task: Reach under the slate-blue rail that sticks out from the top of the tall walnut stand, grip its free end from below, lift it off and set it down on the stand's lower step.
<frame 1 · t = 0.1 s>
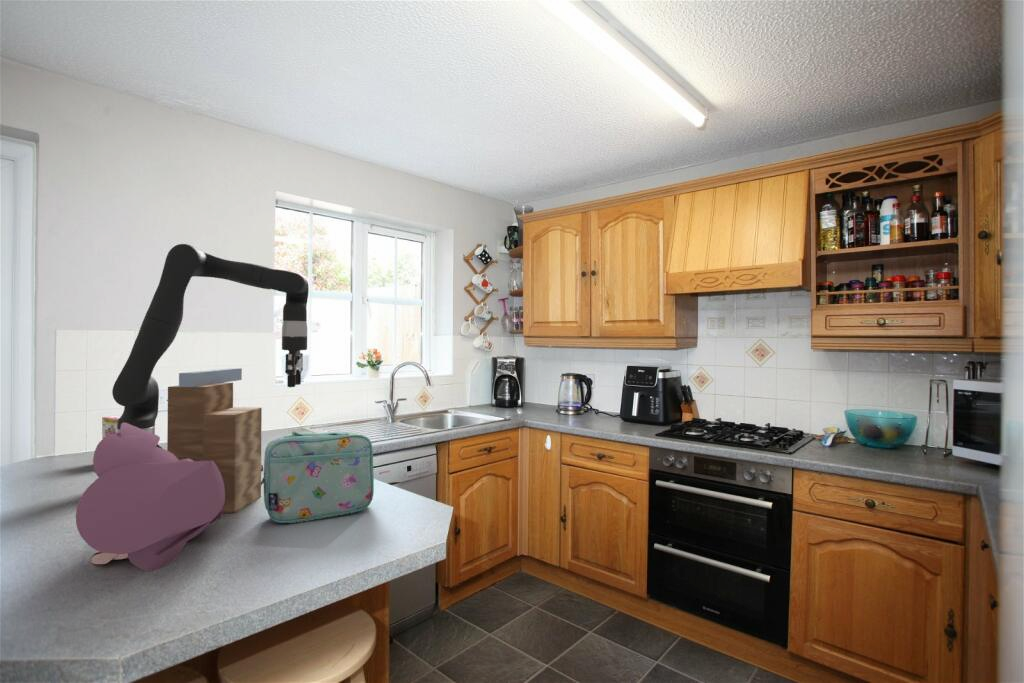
hand: (294, 385, 163), 29 cm above the counter, tool pointing down, fingers open, 8 cm apart
lunch box: (317, 515, 128), on the counter
candy bar box: (118, 464, 179), on the counter
burger: (243, 473, 169), on the counter
stand: (201, 504, 135), on the counter
mauve lumpy blob: (152, 550, 106), on the counter
rail: (212, 383, 140), point 32 cm above the counter, touching stand
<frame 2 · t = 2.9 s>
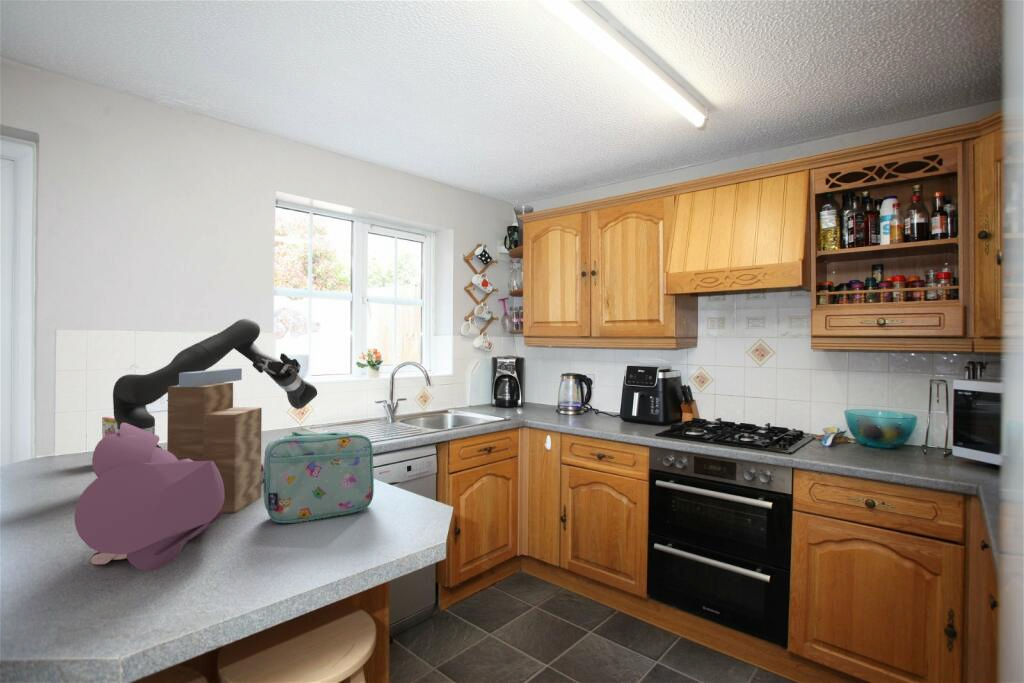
hand: (268, 355, 167), 39 cm above the counter, tool pointing upward, fingers open, 8 cm apart
nothing on the counter moved.
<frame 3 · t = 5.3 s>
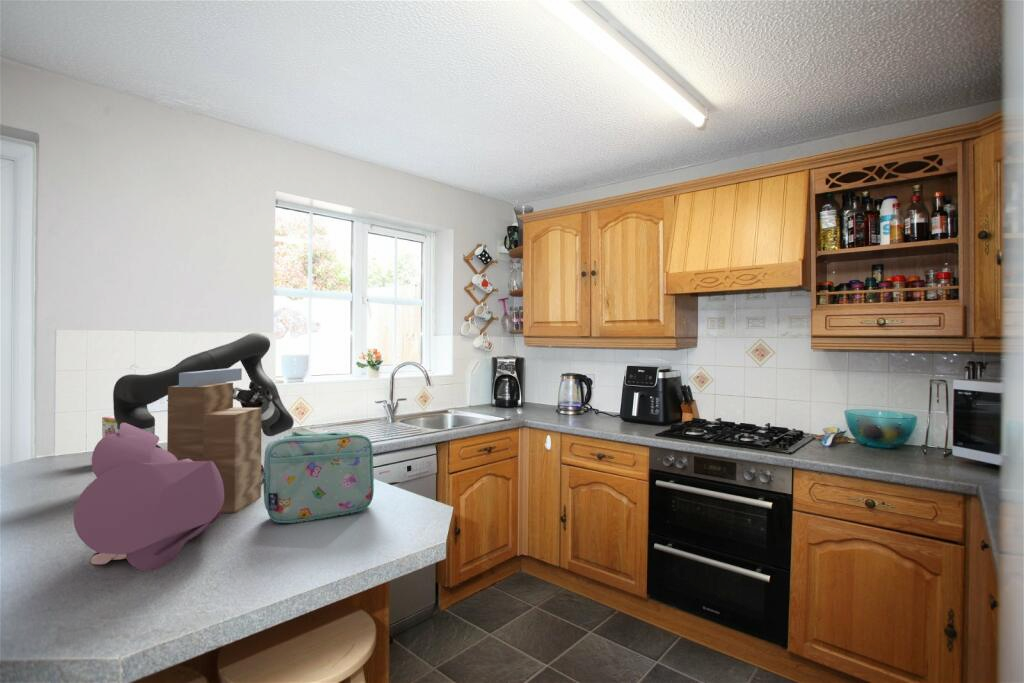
hand: (236, 384, 153), 31 cm above the counter, tool pointing upward, fingers open, 8 cm apart
nothing on the counter moved.
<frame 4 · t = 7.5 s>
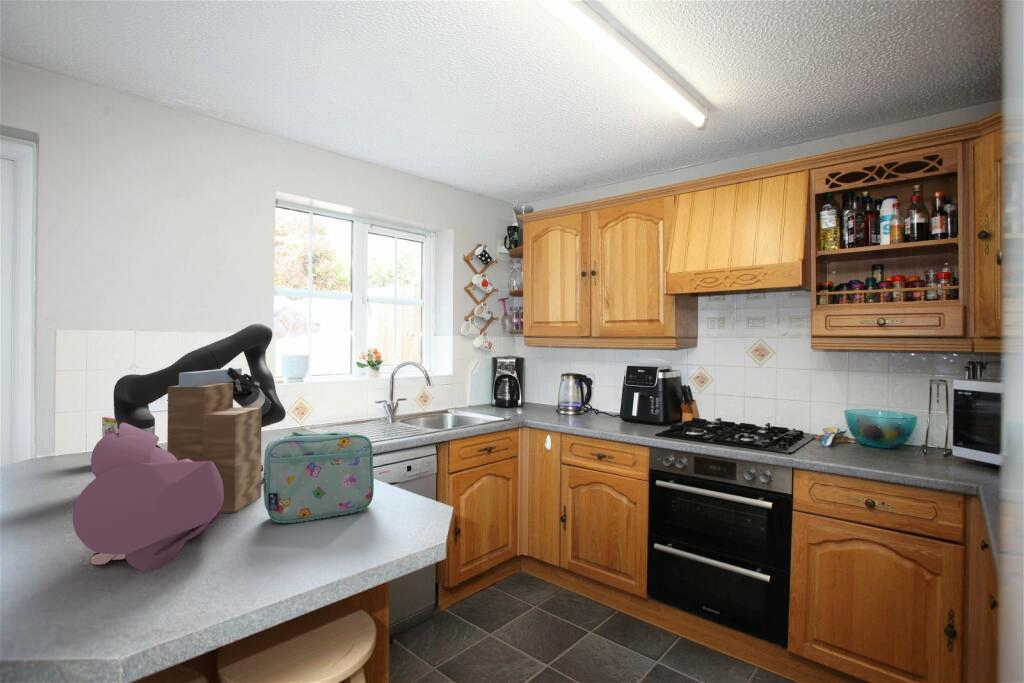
hand: (222, 370, 145), 35 cm above the counter, tool pointing upward, fingers closed on rail, 3 cm apart
rail: (212, 383, 140), point 32 cm above the counter, touching gripper, stand
everything else where it was.
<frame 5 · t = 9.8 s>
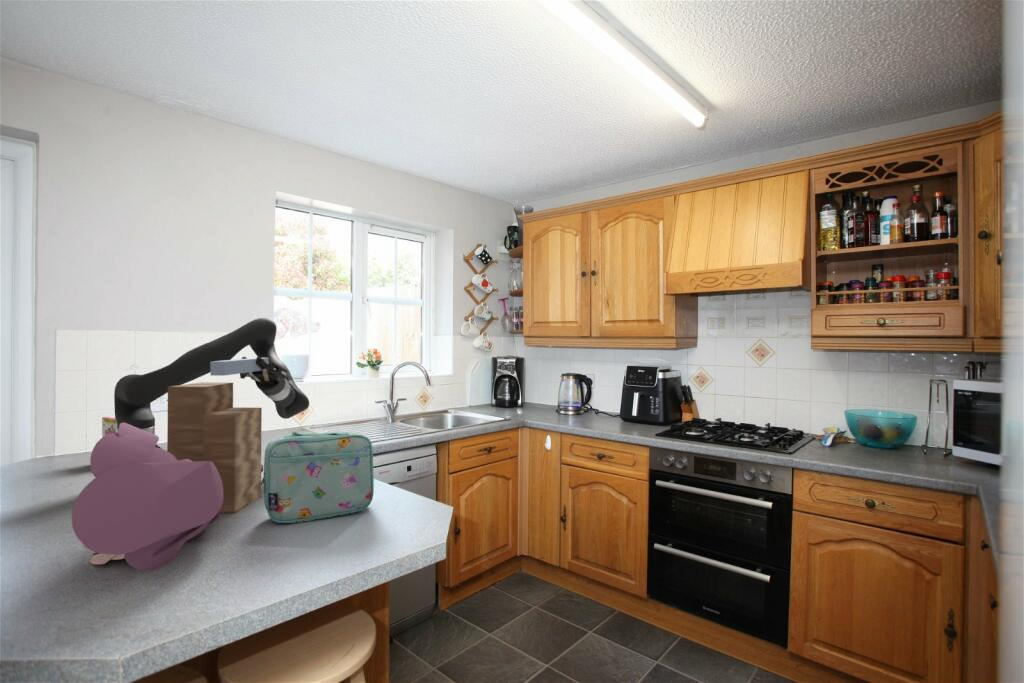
hand: (250, 359, 144), 38 cm above the counter, tool pointing upward, fingers closed on rail, 3 cm apart
rail: (241, 372, 139), point 35 cm above the counter, touching gripper
everything else where it was.
when the fingers open (29 cm above the counter, at t = 12.0 s): rail drops 1 cm, resting on stand.
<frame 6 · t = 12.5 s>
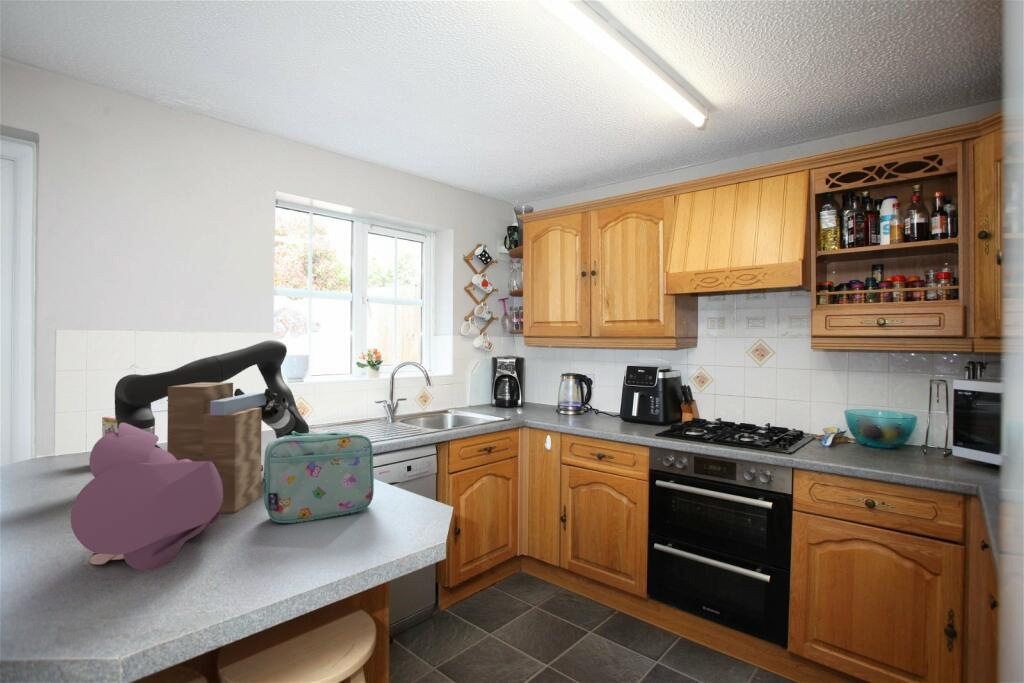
hand: (251, 391, 145), 29 cm above the counter, tool pointing upward, fingers open, 8 cm apart
rail: (241, 408, 140), point 25 cm above the counter, touching stand
everything else where it was.
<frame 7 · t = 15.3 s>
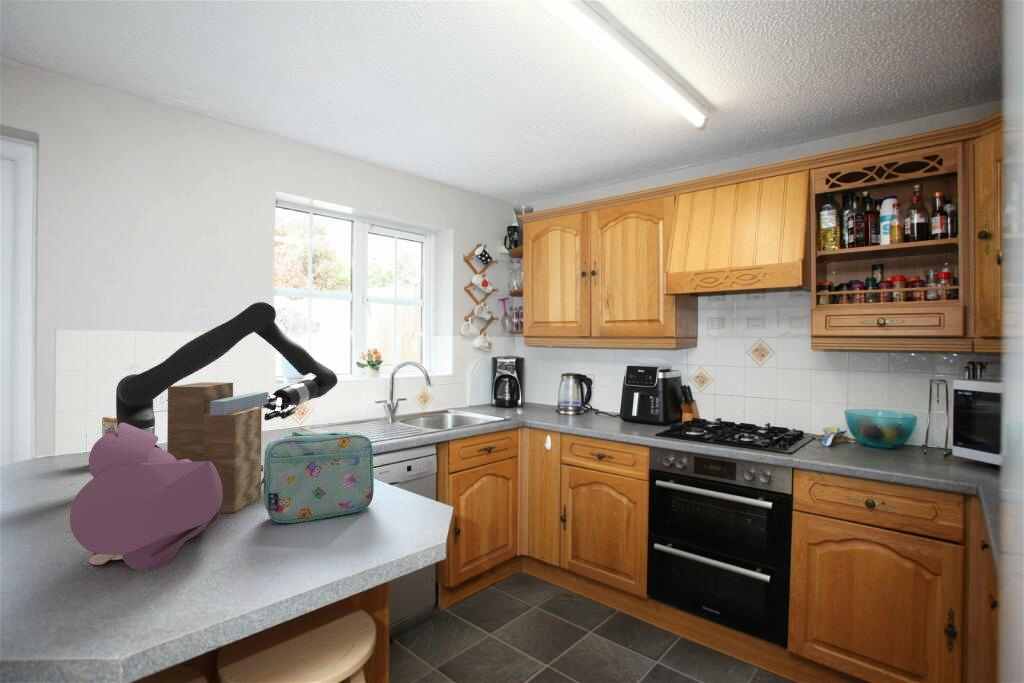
hand: (254, 412, 153), 22 cm above the counter, tool horizontal, fingers open, 8 cm apart
nothing on the counter moved.
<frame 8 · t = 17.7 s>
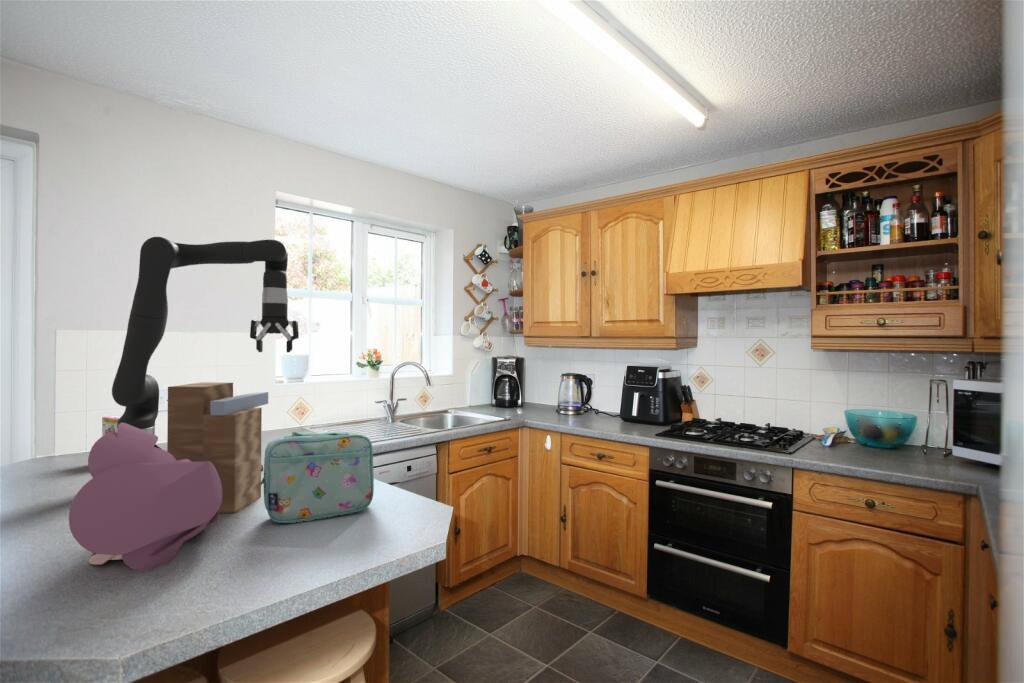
hand: (274, 352, 165), 40 cm above the counter, tool pointing down, fingers open, 8 cm apart
nothing on the counter moved.
at the end: rail inside the target area on the stand (0.1 cm from its centre), point 25.0 cm above the stand's base; the gripper is holding nothing; rail tilted 0° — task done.
